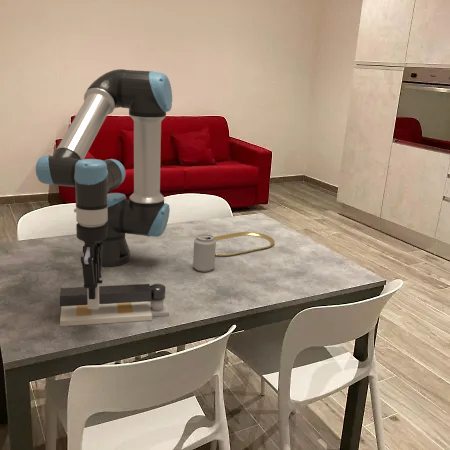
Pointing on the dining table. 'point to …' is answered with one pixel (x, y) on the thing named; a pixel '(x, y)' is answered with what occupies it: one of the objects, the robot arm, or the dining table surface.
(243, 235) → the curved rod
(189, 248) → the dining table surface
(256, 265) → the dining table surface
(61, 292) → the swing arm
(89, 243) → the robot arm
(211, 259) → the can
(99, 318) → the panel
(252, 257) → the dining table surface
